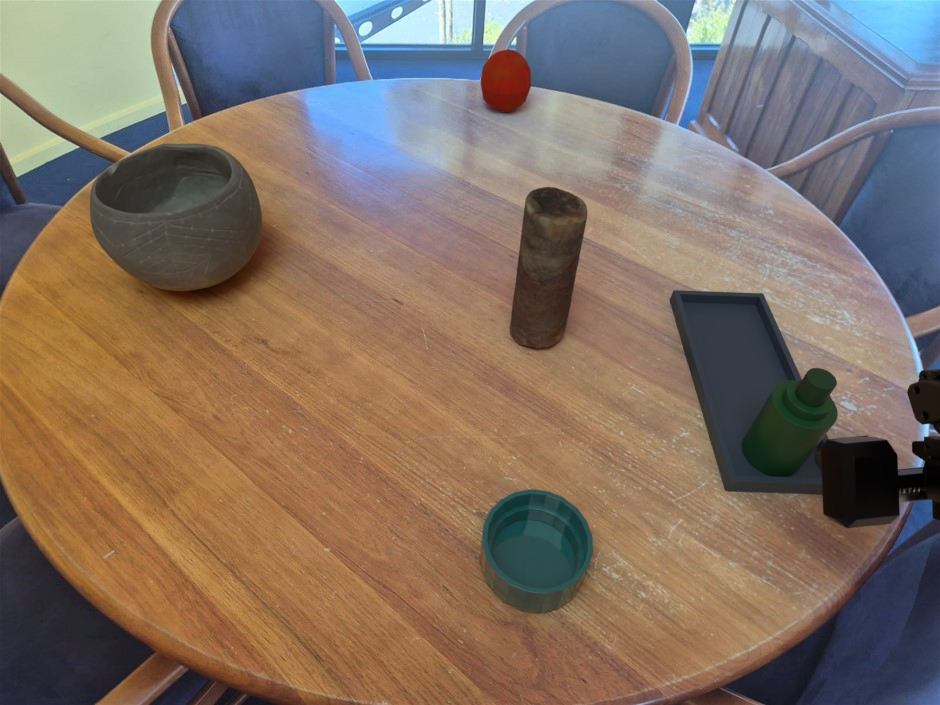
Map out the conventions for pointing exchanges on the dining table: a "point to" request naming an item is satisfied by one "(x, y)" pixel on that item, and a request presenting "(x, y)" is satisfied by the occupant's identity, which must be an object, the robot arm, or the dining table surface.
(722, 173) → the dining table surface
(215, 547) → the dining table surface
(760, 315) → the tray
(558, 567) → the glazed bowl
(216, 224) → the bowl
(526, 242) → the brown textured cylinder
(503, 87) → the apple
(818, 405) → the bottle
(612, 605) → the dining table surface
